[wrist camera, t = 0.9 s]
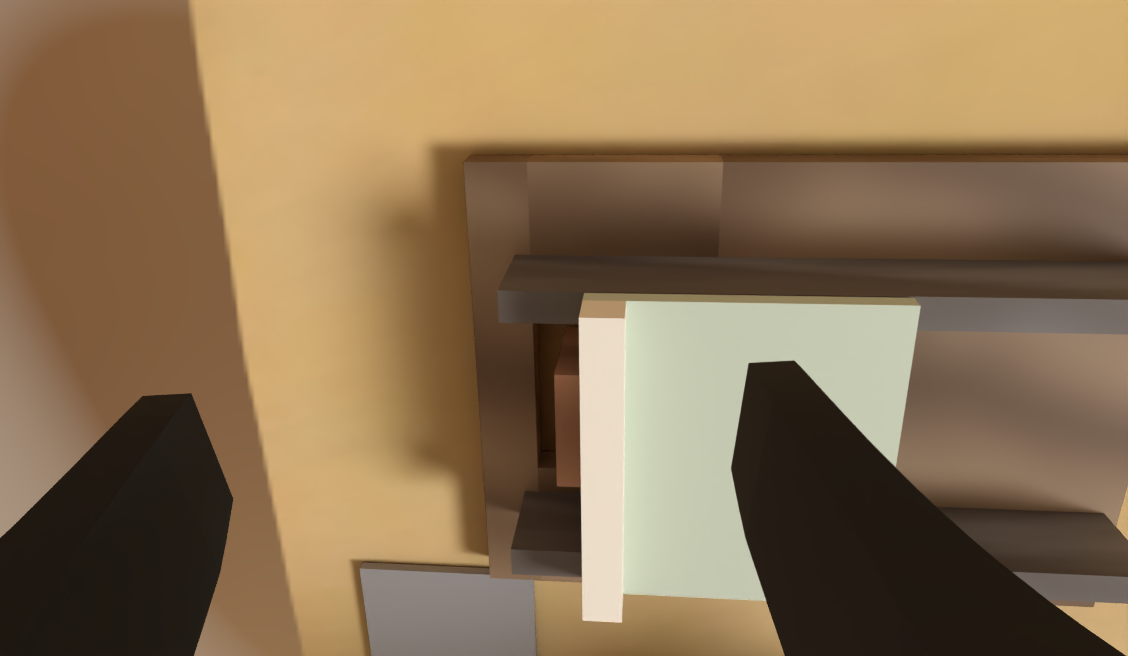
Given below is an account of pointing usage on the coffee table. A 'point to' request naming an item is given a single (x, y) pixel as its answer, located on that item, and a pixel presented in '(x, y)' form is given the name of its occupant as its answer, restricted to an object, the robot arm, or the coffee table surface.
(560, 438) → the block
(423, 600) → the mat
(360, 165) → the coffee table surface
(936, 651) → the robot arm
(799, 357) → the cover
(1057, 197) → the board
